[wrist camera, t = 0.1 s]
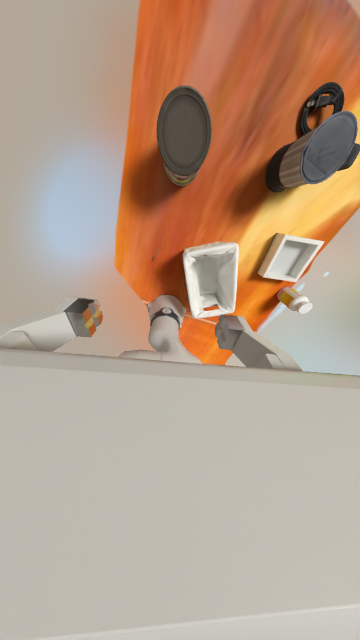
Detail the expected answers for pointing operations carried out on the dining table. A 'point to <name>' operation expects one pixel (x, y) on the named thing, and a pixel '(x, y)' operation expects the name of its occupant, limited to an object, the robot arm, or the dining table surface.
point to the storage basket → (211, 277)
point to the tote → (288, 257)
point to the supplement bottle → (294, 300)
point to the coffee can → (183, 134)
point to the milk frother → (316, 145)
